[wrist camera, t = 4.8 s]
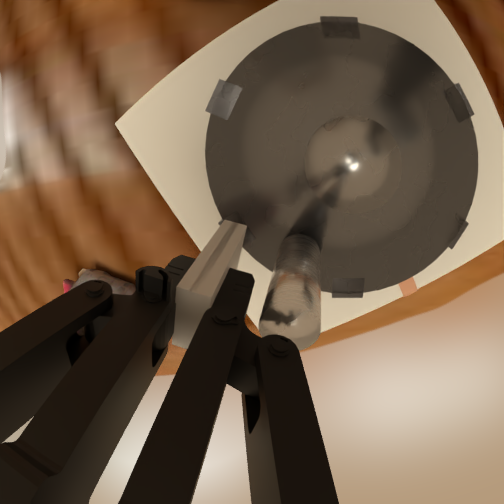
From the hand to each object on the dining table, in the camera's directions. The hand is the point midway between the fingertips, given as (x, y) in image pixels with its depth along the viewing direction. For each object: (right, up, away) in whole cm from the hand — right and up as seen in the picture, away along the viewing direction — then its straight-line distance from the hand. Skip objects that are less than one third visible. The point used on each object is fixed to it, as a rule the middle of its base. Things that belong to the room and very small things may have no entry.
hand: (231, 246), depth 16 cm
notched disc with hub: (+7, +5, +1) cm, 9 cm away
